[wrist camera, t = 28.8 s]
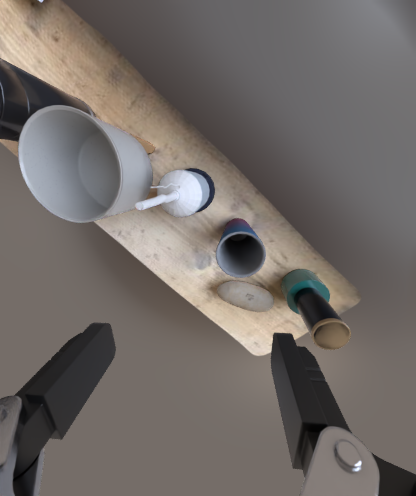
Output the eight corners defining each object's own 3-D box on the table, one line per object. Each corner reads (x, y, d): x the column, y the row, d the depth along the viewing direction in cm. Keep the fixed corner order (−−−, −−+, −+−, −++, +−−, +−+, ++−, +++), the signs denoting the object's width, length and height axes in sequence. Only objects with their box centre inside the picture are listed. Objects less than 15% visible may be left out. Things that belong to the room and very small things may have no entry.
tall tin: (294, 311, 41) (313, 351, 31) (292, 288, 39) (311, 322, 30) (322, 309, 40) (351, 348, 30) (321, 284, 38) (351, 319, 29)
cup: (232, 207, 40) (232, 221, 26) (260, 225, 41) (276, 248, 27) (215, 235, 43) (206, 262, 29) (242, 251, 43) (247, 286, 29)
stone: (217, 277, 43) (276, 291, 38) (225, 275, 49) (277, 287, 44) (212, 304, 43) (270, 321, 39) (221, 298, 49) (272, 313, 44)
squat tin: (279, 300, 46) (285, 314, 41) (282, 268, 43) (288, 279, 39) (316, 302, 45) (326, 316, 40) (321, 269, 42) (333, 280, 38)
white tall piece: (167, 197, 41) (81, 218, 18) (187, 160, 39) (116, 127, 15) (201, 218, 42) (160, 267, 18) (222, 183, 39) (208, 188, 16)
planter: (95, 181, 42) (5, 181, 25) (123, 122, 38) (37, 76, 21) (147, 218, 43) (94, 242, 26) (180, 166, 39) (141, 154, 22)
